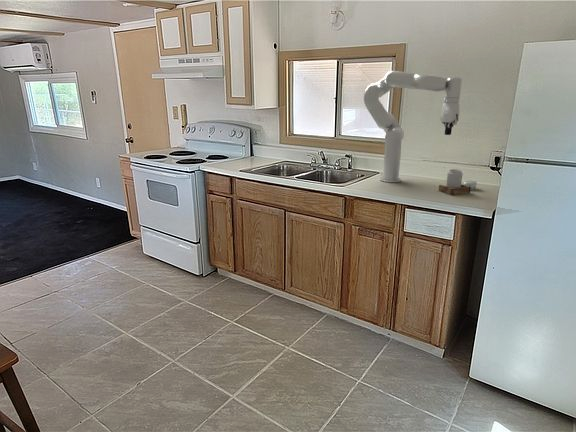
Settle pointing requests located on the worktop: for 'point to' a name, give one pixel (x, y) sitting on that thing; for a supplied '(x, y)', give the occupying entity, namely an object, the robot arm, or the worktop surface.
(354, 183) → the worktop surface
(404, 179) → the worktop surface
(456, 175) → the can
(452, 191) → the bay
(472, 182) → the white small piece
